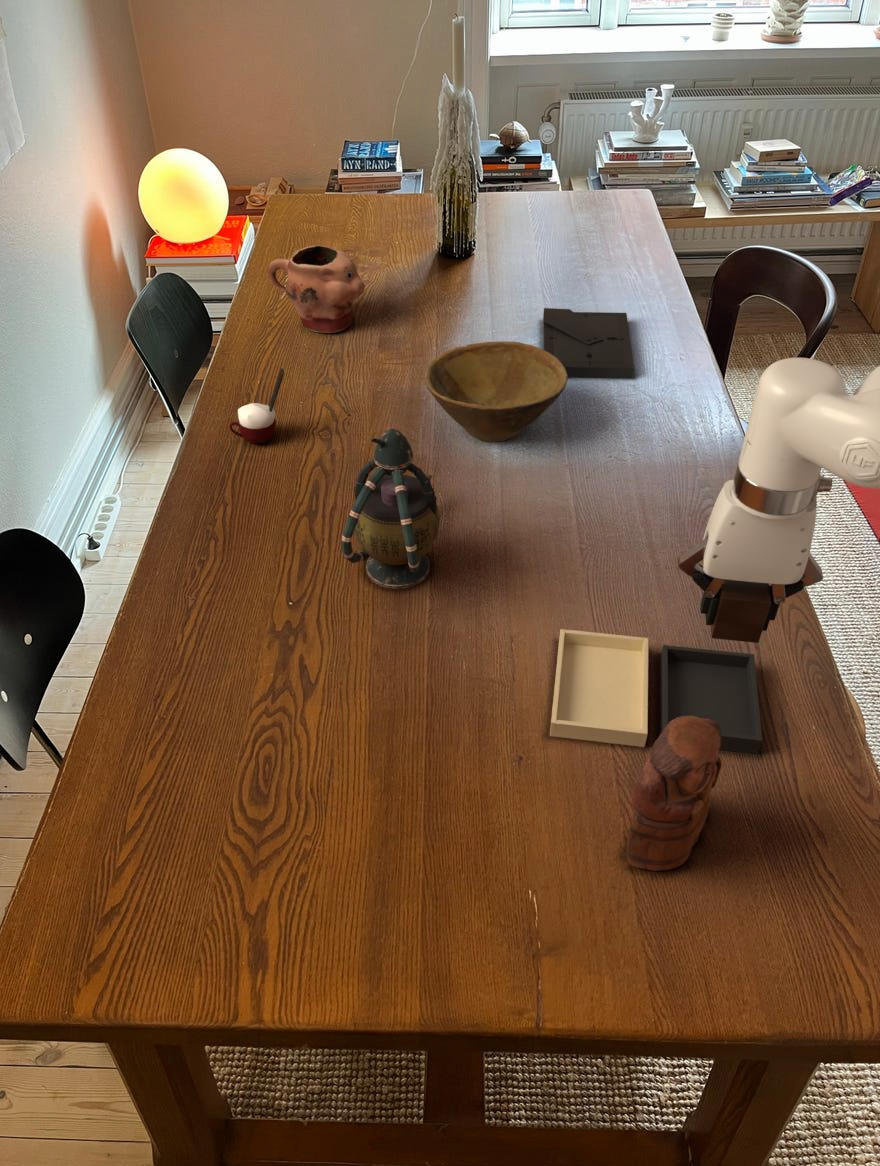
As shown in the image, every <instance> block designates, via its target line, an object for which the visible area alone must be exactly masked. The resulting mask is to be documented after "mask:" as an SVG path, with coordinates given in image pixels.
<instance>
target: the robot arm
mask: <svg viewBox="0 0 880 1166" xmlns="http://www.w3.org/2000/svg"><path fill="white" fill-rule="evenodd" d="M750 411H751V412H750V415H749V419H748V423H747V426H746V430H745V434H744V438H743V443H742V447H741V451H740V455H739V459H738V462H737V466H736V470H735V474H734V478H733V479H729V480H727V481H726V482H725V483H724V484H723V486H722V488H721V490H720V492H719V494H718V496H717V498H716V500H715V503H714V504H713V508H712V510H711V512H710V515H709V518H708V521H707V525H706V527H705V531H704V534H703V537H702V540H701V541H700V542H698V543H697V544H695V545H694V546H692V547H691V548H690V549H688V550H687V551H686V552H684V553H682V554H681V555H680V556H678V559H677V564H678V565H677V566H678V569H679V570H681V571H682V572H683V573H684V574H686V575H687V576H688V577H690V578H692V581H693V583H695V584H696V585H697V586H698V587H699V588H700V589H701V590H702V591H703V592H702V596H701V597H702V598H701V601H700V607H699V608H700V614H702V615H703V614H704V615H705V625H706V626H711V624H713V622H714V618H715V615H716V611H717V607H718V603H719V590H720V588H721V587H722V585H723V584H724V583H725V581H726V580H727V579H728V580H737V581H747V582H758V583H769V589H770V597H771V605H770V608H769V611H768V614H767V618H766V621H765V624H764V627H763V630H762V632H766V631H767V630H768V628H769V625H770V622H771V621H775V620H776V617H777V614H778V611H779V608H780V605H783V604H784V603H786V599H787V598H790V597H791V596H793V595H795V594H797V593H800V592H801V591H802V590H804V588H809V587H811V586H813V585H815V584H817V583H820V582H822V581H823V580H824V574H823V569H822V568H821V566H820V564H819V563H818V562H817V560H816V559H815V557H814V556H813V555H812V553H811V548H812V543H813V537H814V533H815V526H816V522H817V521H816V520H817V511H818V510H817V509H818V508H817V506H818V501H817V500H818V499H817V498H818V497H817V495H818V494H819V493H823V492H825V493H826V492H828V493H830V492H831V491H832V488H833V478H832V477H825V475H821V471H822V469H823V470H824V471H827V472H828V473H830V474H832V475H834V476H836V477H837V478H839V479H841V480H843V481H844V482H847V483H849V484H852V485H854V486H857V487H860V488H864V489H871V490H872V489H873V490H875V489H876V490H877V489H880V365H879V366H877V367H876V368H874V369H873V370H872V371H871V372H870V373H868V375H866V376H865V378H864V379H863V380H862V382H861V383H860V384H859V386H858V387H857V388H856V390H855V391H854V392H853V394H852V395H850V394H848V393H847V387H846V381H845V379H844V377H843V375H842V373H840V371H839V370H837V369H836V368H835V367H834V366H832V365H831V364H829V363H826V362H824V361H821V360H818V359H814V358H808V357H788V358H783V359H780V360H776V361H775V362H773V363H772V364H770V365H768V366H767V368H766V369H765V370H764V371H763V373H762V374H761V375H760V377H759V381H758V383H757V387H756V390H755V395H754V399H753V403H752V406H751V410H750ZM701 561H702V563H703V564H699V563H700V562H701ZM770 584H771V585H770Z"/></svg>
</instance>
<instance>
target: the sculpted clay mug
mask: <svg viewBox="0 0 880 1166" xmlns="http://www.w3.org/2000/svg"><path fill="white" fill-rule="evenodd" d="M278 270H283V271H284V272H285V273H286V274H287V279H286V282H285V286H284V285H282V284H281V283H280V282H279V280H278V279H277V271H278ZM267 272H268V276H269V279H270V280H271V283H272V284H273V285H274V286H275V287H278V288H279V289H281V290H282V291H283V292H284V293H285V294H286V296H287V299H288V300H289V301H290V303H291V304H292V305H293V306H294V308H295V310H296V312H297V313H298V316H299V318H300V321H301V324H302V326H303V327H304V329H306V330H309V331H311V332H315V333H323V334H334V333H339V332H341V331H343V330H345V329H346V328H348V327H349V326H351V325H352V322H353V319H354V308H353V303H354V301H355V300H356V299H358V298H359V297H361V296H362V295H363V293H364V292H365V289H366V285H365V282H364V281H363V280H362V278H361V275H360V274H359V272H358V269H357V267H356V264H355V262H354V261H353V260H352V259H351V258H350V257H349V256H348V255H347V254H346V252H345V251H342V250H339V249H336V248H334V247H330V246H327V245H310V246H306V247H303V248H300V249H298V250H296V251H295V252H294V253H292V254H291V256H290V258H276V259H274V260H272V261H271V262H270V263H269V265H268V267H267Z"/></svg>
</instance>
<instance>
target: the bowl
mask: <svg viewBox="0 0 880 1166" xmlns="http://www.w3.org/2000/svg"><path fill="white" fill-rule="evenodd" d="M568 379H569V377H568V375H567V372H566V369H565V368H564V366H563V364H562V363H561V362H560V360H559V359H558V358H556V357H555V356H554V355H552V354H551V353H549V352H547V351H545V350H543V348H541V347H538V346H534V345H532V344H528V343H523V342H520V341H505V340H504V341H485V342H476V343H471V344H470V343H469V344H466V345H464V346H463V345H460V346H457V347H454V348H452V349H448V350H446V351H444V352H442V353H440V354H439V355H438V356H436V357H435V358H434V359H433V360H432V361H431V362H430V363H429V364H428V366H427V369H426V371H425V375H424V381H425V386H426V388H427V390H428V391H429V392H430V394H431V396H433V398H434V399H435V401H436V402H437V403H438V404H439V405H440V406H441V408H442V409H443V410H444V411H445V412H446V414H448V415H449V417H451V419H453V420H454V421H455V422H456V423H457V424H458V425H459V426H461V428H463V429H464V430H465V432H466V433H467V434H468V435H469V436H471V437H473V438H475V439H477V440H480V441H483V442H489V443H494V442H503V441H507V440H509V439H510V440H511V439H512V438H514V437H516V436H517V435H520V433H521V432H523V431H524V430H525V429H526V428H528V427H529V426H530V425H531V424H533V423H534V422H535V421H536V420H538V418H540V417H541V416H542V415H544V414H545V412H546V411H547V410H548V409H549V408H550V407H551V406H552V405H553V404H554V403H555V402H556V401H557V399H558V398H559V397H560V396H561V395H562V393H563V392H564V390H565V388H566V386H567V384H568Z"/></svg>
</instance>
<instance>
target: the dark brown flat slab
mask: <svg viewBox="0 0 880 1166" xmlns="http://www.w3.org/2000/svg"><path fill="white" fill-rule="evenodd" d="M542 314H543V316H542V347H543V348H542V349H543V350H545V351H547V352H549V353H551V354H552V355H554V356H555V357H556V358H558V359H559V360H560V362H561V363H562V364H563V366H564V368H565V369H566V372H567V375H568V378H580V379H581V378H584V379H588V378H589V379H633V378H634V374H635V373H634V372H635V364H634V363H635V362H634V358H633V357H634V356H633V350H632V343H631V335H630V328H629V320H628V315H627V312H598V311H597V312H595V311H591V312H590V311H573V310H571V309H570V308H553V307H543V312H542Z"/></svg>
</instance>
